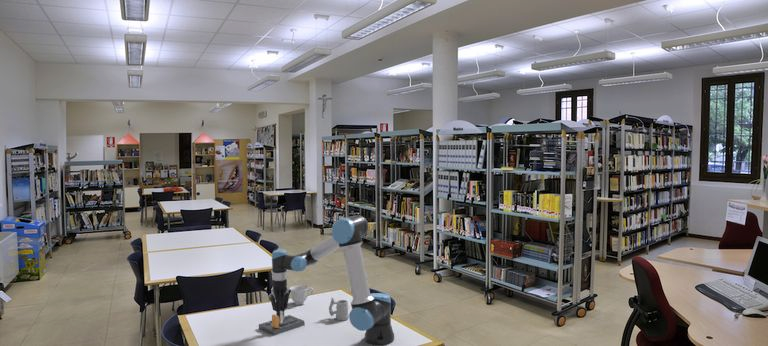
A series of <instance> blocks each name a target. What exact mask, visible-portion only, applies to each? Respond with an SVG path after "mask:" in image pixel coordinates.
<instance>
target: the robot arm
mask: <svg viewBox="0 0 768 346" xmlns="http://www.w3.org/2000/svg"><path fill="white" fill-rule="evenodd" d="M368 231H369V223H368V220H367V219H366V217H364V216H362V215H360V214H359V215H358V214H355V215H351V216H346V217H343V218H339V219H338V220H336V221H334V223H333V226H332V228H331V235H330V236H329V237H327V238H325V239H324V240H323V241H321V242H319V243H317V244H316V245H315V246H313V247H311V248H310V249H308V250H306V251H305V252H302V253H298V254H295V255H289V254H287V250H285V249H274V250H273V251H272V253H271V266H272V272H271V273H272V275H271V276H272V280H271V281H272V282H271V283H272V290H271V293H269V294H268V297H269V299H270V303H271V306H272V310H273V311H274V312H276V314H275V315H277V316H279V323H280V324H281V323H283V316H284V317H285V311H286V309H287V308H288V304H289V301H290V295H291V290H290V288H289V289H288V287H287V286H288V281H287V280H288V279H287V278H288V277H287V275H288V274H287V270H288V271H294V272H303V271H304V270H305V269H306V267H308V266H311V265H315V264H317V263H318V262H319V261H320V260H321V259H323V258H325V257H326V256H328V255H329V254H331V253H333V252H335V251H337V250H338V249H339V248H340V249H341V250H342V251H343V256H344V260H345V266H346V271H347V275H348V279H349V285H350V290H351V294H352V300H351V302H350V304H351V305H350V306H351V310H350V312H349V313H348V314H349V319H348V320H349V322H350V324H351V325H352V326H353V328H355V329H356V330H357V331H365V333H364V340H365V342H366V343H368V344H370V345H376V346H381V345H384V346H385V345H389V344H390V343H392V342H394V340H395V332H394V331H393V326H392V320H391V319H392V318H391V317H392V316H391V315H392V314H391V313H392V312H391V308H392V307H391V306H392V305H391V303H392V301H391V296H390V295H388V294H386V293H381V292H377V293H375V292H373V293H371V291H370V286H369V282H368V276H367V271H366V267H365V266H366V265H365V262H364V258H363V252H362V247H361V246H362V244H363V242H364V241H363V237H364V236H366V234H367V233H368Z"/></svg>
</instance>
